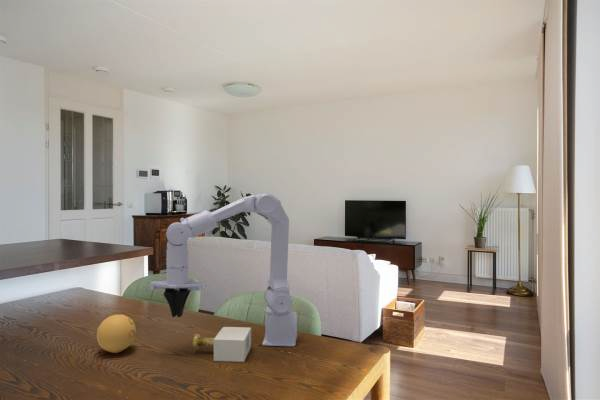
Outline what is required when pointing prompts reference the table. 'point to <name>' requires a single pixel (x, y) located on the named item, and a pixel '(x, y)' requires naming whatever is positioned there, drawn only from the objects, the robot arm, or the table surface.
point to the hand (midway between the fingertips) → (177, 316)
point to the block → (232, 344)
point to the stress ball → (116, 333)
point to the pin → (201, 341)
